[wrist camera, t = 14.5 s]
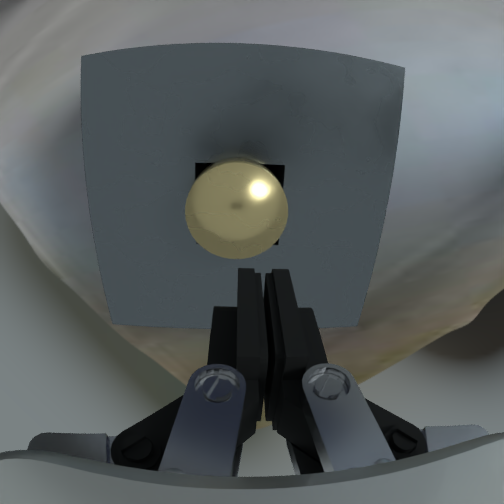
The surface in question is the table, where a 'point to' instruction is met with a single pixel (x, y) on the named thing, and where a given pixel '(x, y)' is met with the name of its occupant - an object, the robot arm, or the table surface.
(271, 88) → the grey square platform
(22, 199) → the table surface
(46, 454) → the robot arm
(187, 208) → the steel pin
